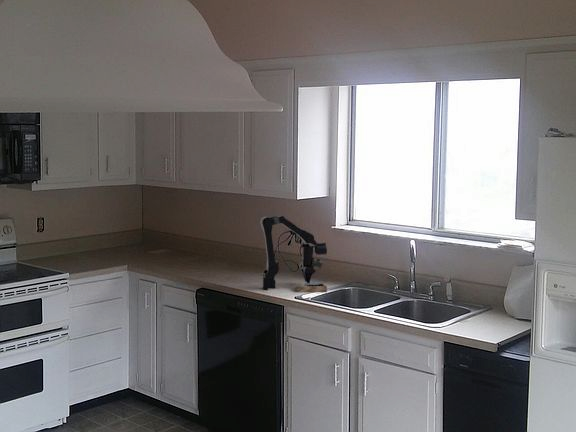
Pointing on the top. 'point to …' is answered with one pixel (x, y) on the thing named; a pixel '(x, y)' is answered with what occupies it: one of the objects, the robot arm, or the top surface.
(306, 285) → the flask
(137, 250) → the top surface
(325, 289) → the frame
